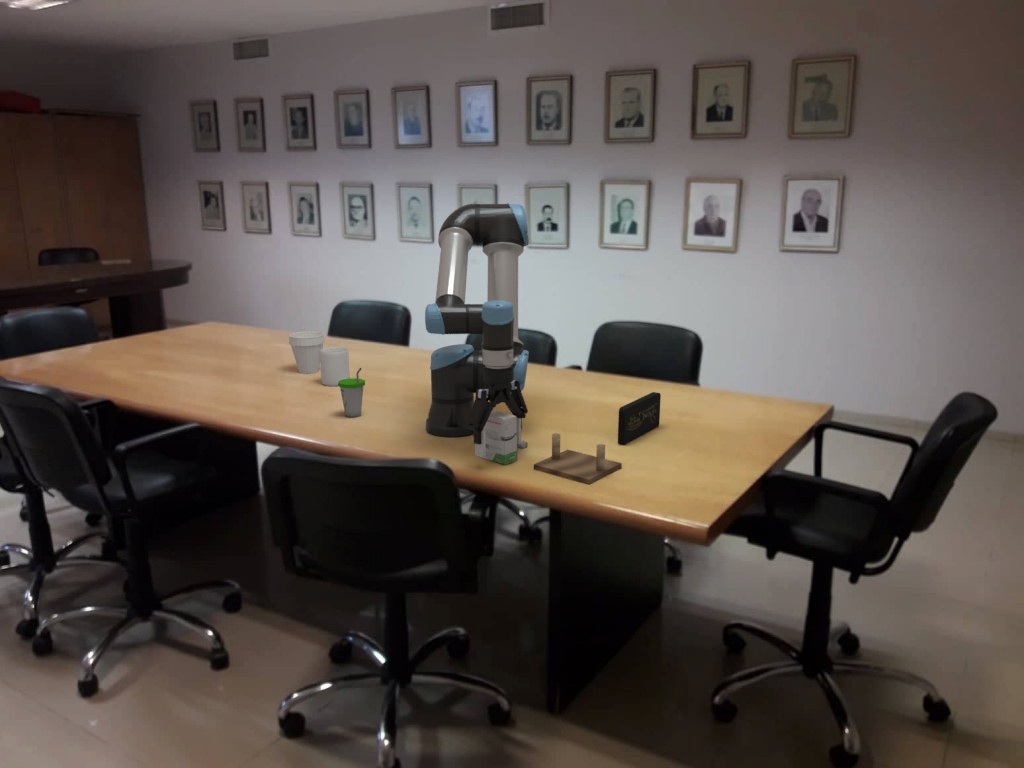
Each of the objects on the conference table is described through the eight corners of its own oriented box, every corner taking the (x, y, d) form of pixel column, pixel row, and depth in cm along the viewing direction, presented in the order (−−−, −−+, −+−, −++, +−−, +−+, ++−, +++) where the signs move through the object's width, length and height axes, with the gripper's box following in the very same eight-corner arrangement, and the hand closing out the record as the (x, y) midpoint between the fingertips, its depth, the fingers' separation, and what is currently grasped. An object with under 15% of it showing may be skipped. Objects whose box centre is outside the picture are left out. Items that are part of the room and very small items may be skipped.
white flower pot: (288, 369, 296) (285, 332, 292) (322, 366, 301) (320, 330, 297) (294, 376, 285) (292, 338, 282) (329, 373, 290) (327, 335, 287)
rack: (533, 468, 195) (533, 440, 193) (567, 454, 205) (567, 426, 204) (588, 484, 185) (589, 454, 183) (621, 467, 196) (622, 439, 194)
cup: (337, 413, 241) (335, 364, 237) (364, 410, 244) (361, 362, 240) (342, 420, 234) (339, 369, 230) (369, 417, 237) (366, 367, 233)
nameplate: (653, 425, 229) (654, 391, 227) (659, 426, 228) (660, 392, 226) (617, 444, 213) (618, 408, 210) (624, 445, 212) (625, 409, 209)
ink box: (518, 460, 201) (518, 415, 198) (504, 465, 197) (504, 419, 194) (493, 453, 206) (493, 408, 203) (479, 457, 203) (478, 412, 200)
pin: (506, 439, 216) (501, 444, 215) (503, 433, 215) (499, 438, 214) (528, 445, 211) (524, 450, 210) (526, 440, 210) (521, 445, 209)
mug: (337, 388, 270) (335, 353, 267) (309, 383, 276) (307, 350, 273) (355, 381, 278) (353, 348, 275) (328, 378, 284) (326, 345, 281)
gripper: (475, 376, 184) (476, 465, 189) (541, 359, 203) (541, 440, 208) (451, 372, 189) (452, 458, 194) (518, 355, 207) (518, 434, 212)
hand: (498, 449), depth 201 cm, fingers open, 13 cm apart
